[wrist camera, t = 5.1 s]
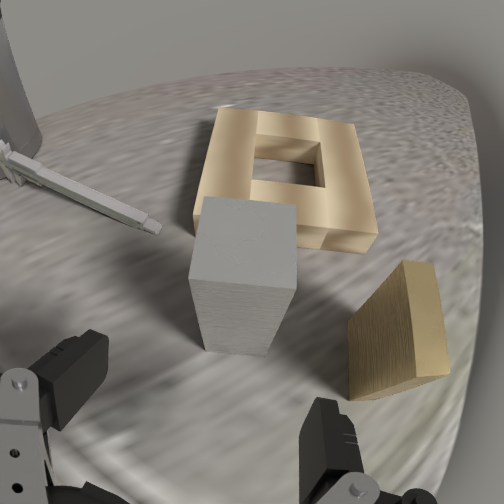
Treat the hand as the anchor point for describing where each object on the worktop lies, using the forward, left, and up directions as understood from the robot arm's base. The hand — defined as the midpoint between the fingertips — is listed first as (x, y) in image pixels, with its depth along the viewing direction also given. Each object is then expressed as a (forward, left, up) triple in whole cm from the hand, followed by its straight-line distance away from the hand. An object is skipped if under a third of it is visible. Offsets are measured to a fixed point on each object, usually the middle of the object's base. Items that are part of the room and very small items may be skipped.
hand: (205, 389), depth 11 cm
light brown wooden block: (+10, +4, -10) cm, 14 cm away
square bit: (+1, +6, -10) cm, 11 cm away
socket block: (+4, +20, -10) cm, 22 cm away
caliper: (-16, +16, -10) cm, 25 cm away
